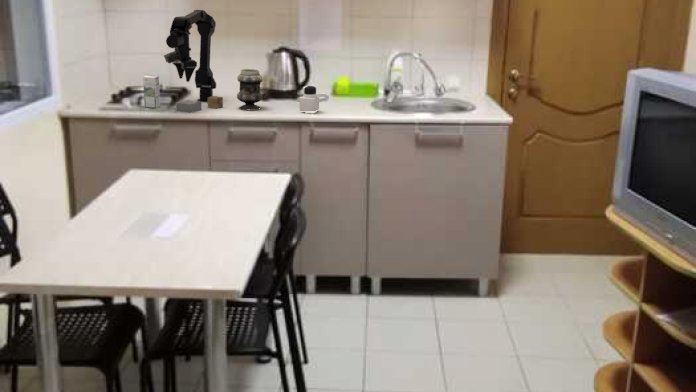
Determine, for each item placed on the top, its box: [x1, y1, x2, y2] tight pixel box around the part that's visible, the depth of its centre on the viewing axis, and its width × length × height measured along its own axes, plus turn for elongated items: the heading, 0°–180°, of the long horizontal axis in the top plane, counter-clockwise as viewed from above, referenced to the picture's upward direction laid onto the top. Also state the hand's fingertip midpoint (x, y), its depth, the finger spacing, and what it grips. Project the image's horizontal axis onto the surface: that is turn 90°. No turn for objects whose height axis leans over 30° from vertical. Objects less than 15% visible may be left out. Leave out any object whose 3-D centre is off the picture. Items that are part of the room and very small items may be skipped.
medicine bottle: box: [299, 85, 320, 111], centre depth 345 cm, size 7×7×12 cm
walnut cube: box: [207, 95, 224, 110], centre depth 348 cm, size 5×5×5 cm
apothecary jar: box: [236, 68, 264, 110], centre depth 347 cm, size 12×12×18 cm
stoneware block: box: [175, 99, 202, 113], centre depth 340 cm, size 8×8×4 cm
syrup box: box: [142, 74, 161, 109], centre depth 343 cm, size 6×6×14 cm
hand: (184, 80), depth 339 cm, fingers open, 9 cm apart
